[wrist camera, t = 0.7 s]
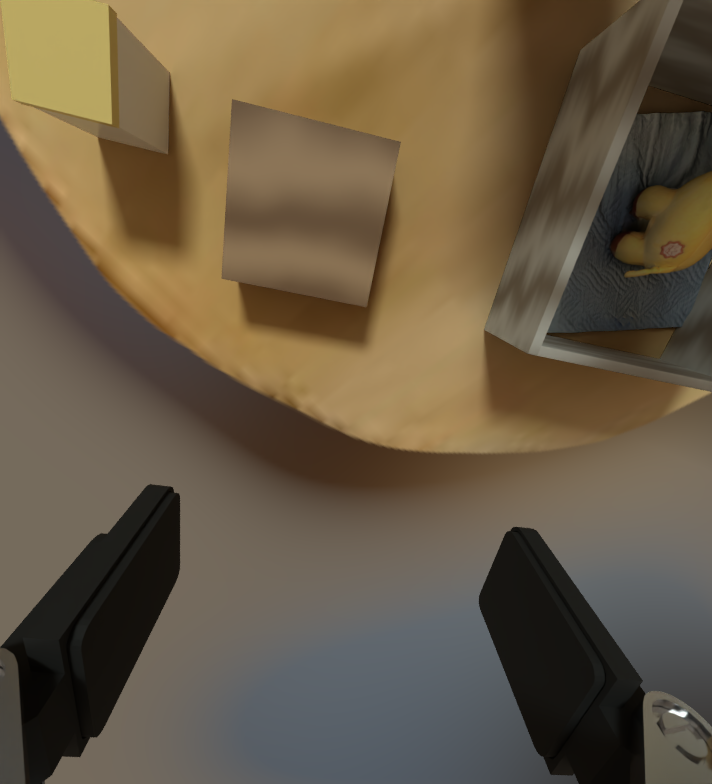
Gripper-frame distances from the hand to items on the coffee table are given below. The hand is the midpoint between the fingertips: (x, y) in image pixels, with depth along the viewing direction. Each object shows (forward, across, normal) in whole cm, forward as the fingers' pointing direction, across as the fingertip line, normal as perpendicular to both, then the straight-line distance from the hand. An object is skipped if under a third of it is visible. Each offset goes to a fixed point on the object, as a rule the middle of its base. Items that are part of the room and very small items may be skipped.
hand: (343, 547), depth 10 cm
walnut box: (+28, +4, -10) cm, 30 cm away
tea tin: (+27, +19, -15) cm, 37 cm away
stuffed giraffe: (+27, -25, -14) cm, 39 cm away
